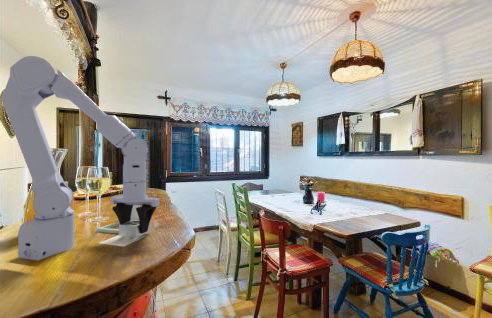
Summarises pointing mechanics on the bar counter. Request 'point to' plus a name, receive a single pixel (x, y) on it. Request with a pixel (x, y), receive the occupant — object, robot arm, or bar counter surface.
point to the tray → (106, 228)
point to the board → (121, 240)
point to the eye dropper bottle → (134, 213)
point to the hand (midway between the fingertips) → (134, 231)
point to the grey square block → (131, 229)
